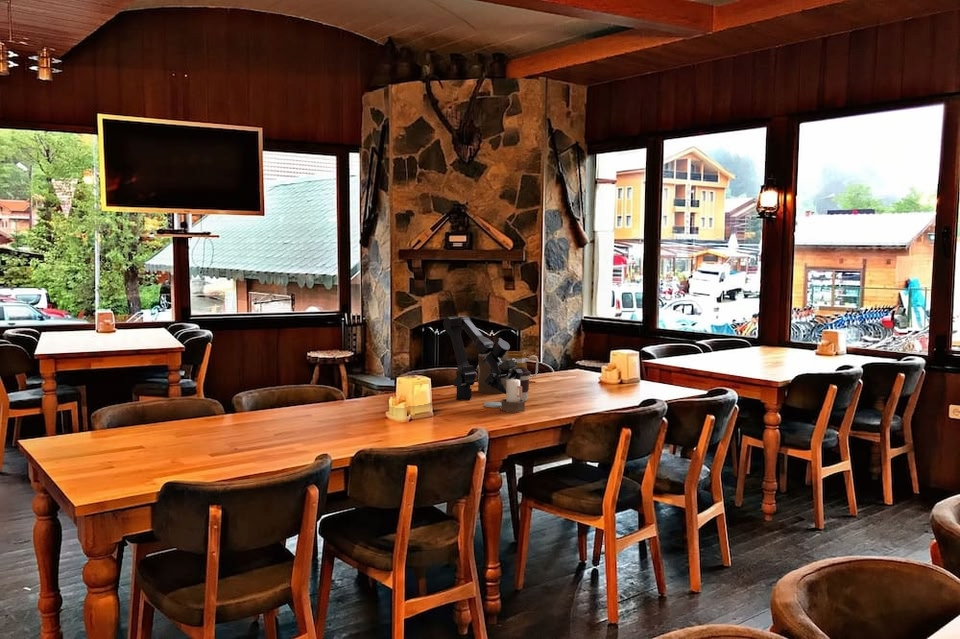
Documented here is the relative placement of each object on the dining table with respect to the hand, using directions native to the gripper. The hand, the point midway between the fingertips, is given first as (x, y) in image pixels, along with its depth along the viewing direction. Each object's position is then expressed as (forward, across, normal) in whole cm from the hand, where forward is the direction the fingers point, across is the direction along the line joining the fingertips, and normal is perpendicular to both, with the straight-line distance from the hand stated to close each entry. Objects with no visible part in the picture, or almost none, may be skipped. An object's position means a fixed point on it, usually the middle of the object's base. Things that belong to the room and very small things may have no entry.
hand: (513, 392), depth 330 cm
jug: (+5, 0, +6) cm, 8 cm away
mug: (-32, +56, +42) cm, 77 cm away
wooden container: (-22, +24, +33) cm, 46 cm away
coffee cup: (-4, +18, +16) cm, 24 cm away
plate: (-3, 0, +14) cm, 14 cm away
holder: (+5, 0, +6) cm, 8 cm away
